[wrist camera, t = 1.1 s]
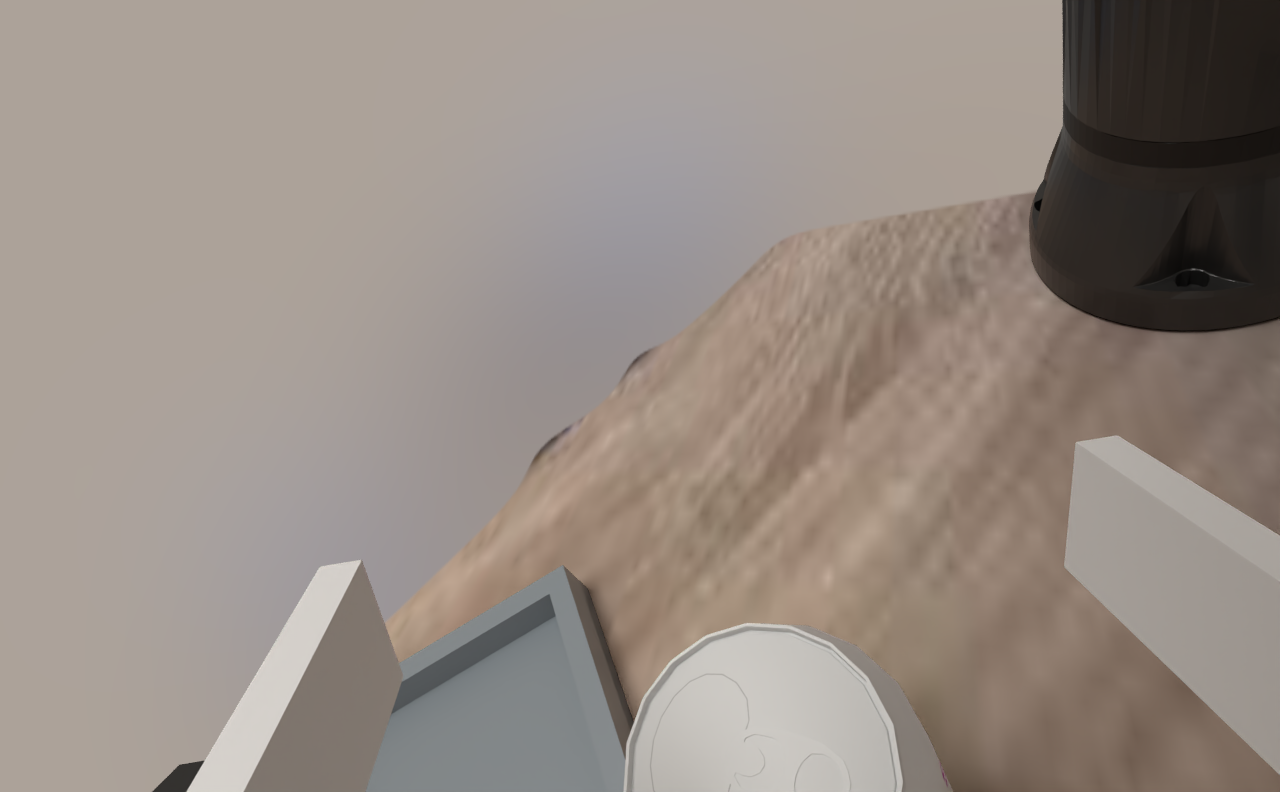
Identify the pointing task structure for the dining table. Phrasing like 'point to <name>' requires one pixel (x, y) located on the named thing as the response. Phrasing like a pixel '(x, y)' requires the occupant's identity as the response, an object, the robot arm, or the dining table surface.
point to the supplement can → (778, 720)
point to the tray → (511, 703)
